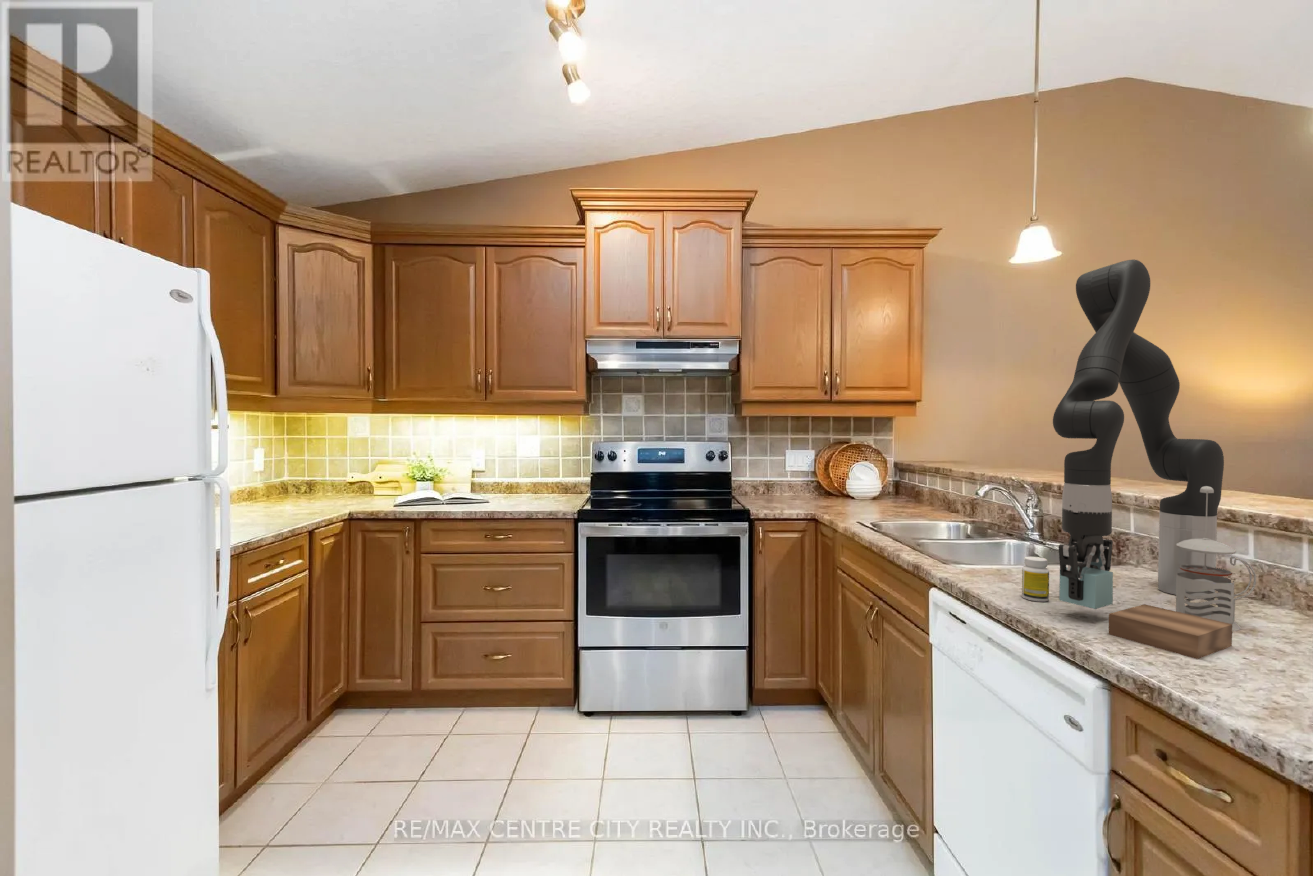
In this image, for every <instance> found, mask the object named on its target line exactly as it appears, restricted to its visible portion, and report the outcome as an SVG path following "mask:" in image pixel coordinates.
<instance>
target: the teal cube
mask: <svg viewBox="0 0 1313 876" xmlns="http://www.w3.org/2000/svg"><path fill="white" fill-rule="evenodd" d="M1067 568H1068V566H1066V570H1067ZM1079 569H1080V568H1078V572H1079ZM1113 577H1114V572H1113V571H1111V570H1110V571H1105V570H1098V569H1094V568H1089V569H1088V570H1086V571H1085V574H1084V579H1083V581H1084V585H1083V600H1081V601H1078V600H1074V599H1070V598H1069V596H1068V588H1069V579H1068V578H1067V577H1065V576H1061V574H1060V573H1059V594H1058V595H1059V596H1058V597H1059V598H1058V600H1059V601H1061V602H1064V603H1068V604H1073V605H1077V606H1081V607H1086V608H1089V609H1093V610H1097V609H1100V608H1104V607H1108V606H1110V605H1113V604H1114V603H1113V598H1114V597H1113V596H1114V595H1113V593H1114V589H1113V586H1114V584H1113V583H1114V580H1113V579H1114V578H1113Z"/></svg>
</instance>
